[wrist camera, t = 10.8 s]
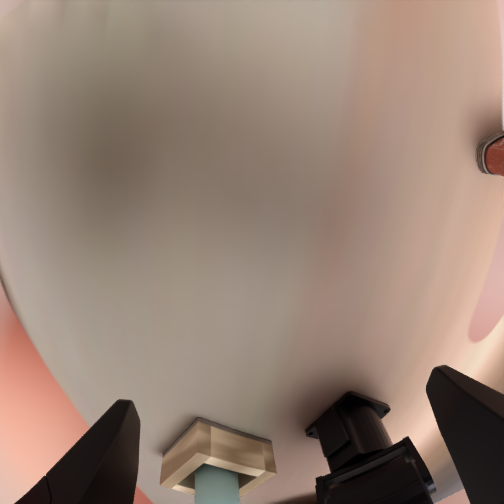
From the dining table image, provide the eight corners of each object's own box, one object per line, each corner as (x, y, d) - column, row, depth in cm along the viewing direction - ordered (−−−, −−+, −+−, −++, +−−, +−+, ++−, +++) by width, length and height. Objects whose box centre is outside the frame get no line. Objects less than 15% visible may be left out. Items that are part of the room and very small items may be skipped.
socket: (271, 441, 28) (276, 473, 24) (228, 474, 30) (230, 503, 26) (198, 417, 26) (197, 452, 22) (163, 454, 28) (159, 484, 24)
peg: (243, 449, 27) (253, 537, 18) (223, 466, 28) (227, 547, 19) (207, 438, 26) (208, 531, 17) (188, 456, 27) (186, 541, 18)
